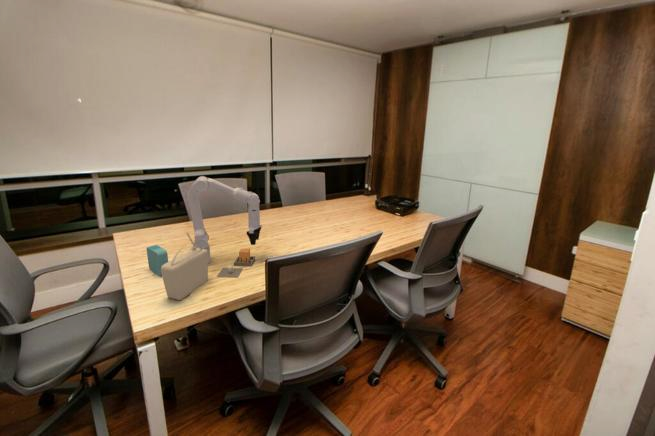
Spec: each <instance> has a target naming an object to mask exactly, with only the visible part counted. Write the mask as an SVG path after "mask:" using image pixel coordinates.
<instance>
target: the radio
mask: <svg viewBox="0 0 655 436" xmlns="http://www.w3.org/2000/svg"><path fill="white" fill-rule="evenodd" d="M185 234H186V235H187V237H188V238H189V241H190V243H187V244H184V245H183V246H181V247H180V248H179V249H178V250H177V252H176V253H175V254H174V255H173V258H172V259H171V260H170V261H169V260H168V262H167V263H165V264H164V265H162V266H161V274H162V276H161V277H162V281H163V285H164V288H165V292H166V296H167V298H168V299H173V300H177V301H181V300H183V299H185V298H186V297H187V296H189V295H190V294H192V292H194V291H195V290H197V289H199V287H201V286H203V285H204V284H205V283H207V282H208V277H209V264H208V251H207V250H206V249H203V248H202V247H201V246H200V245H198V244H196V245H198V246H199V247H200V248H201V249H199V248H196V246H195V245H194V244H195V243H194V241H193V240H192V237H191V236H190V234H189V232H188V231H186V232H185ZM188 245H192V246H191V247H192V250H190V249H189V251H187V252H185V253H183V254H181V255H179V253H180V252H181V251H182V250H183V249H184V248H185V247H186V246H188ZM178 255H179V256H178Z"/></svg>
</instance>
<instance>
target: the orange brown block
mask: <svg viewBox="0 0 655 436" xmlns="http://www.w3.org/2000/svg"><path fill="white" fill-rule="evenodd" d="M238 256H239V261H238V262H244V263H251V260H250V256H251V248H241V249H240V250H239V251H238Z"/></svg>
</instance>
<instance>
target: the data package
mask: <svg viewBox="0 0 655 436" xmlns="http://www.w3.org/2000/svg"><path fill="white" fill-rule="evenodd" d="M146 255H147V263H148V268H149V270H150V271H151V272H152V273H154V274H156V275H157V276H158V277H162V274H161V266H162V265H164V264H165V263H167V262H169V257H168V251H167V250H166V249H165V248H163V247H162V246H160V245H158V244H155V245H150V246H147V247H146Z"/></svg>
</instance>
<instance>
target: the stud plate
mask: <svg viewBox="0 0 655 436" xmlns="http://www.w3.org/2000/svg"><path fill="white" fill-rule="evenodd" d="M243 269H244V268H240V267H239V268H238V267H237V268H236V267H233V265H227V267H222V268H221V269H220V271H219V272H218V274H217V275H216V278H227V279H228V278H229V279H230V278H232V279H233V278H235V279H239V276H240V275H241V273H242V272H243Z"/></svg>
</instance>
